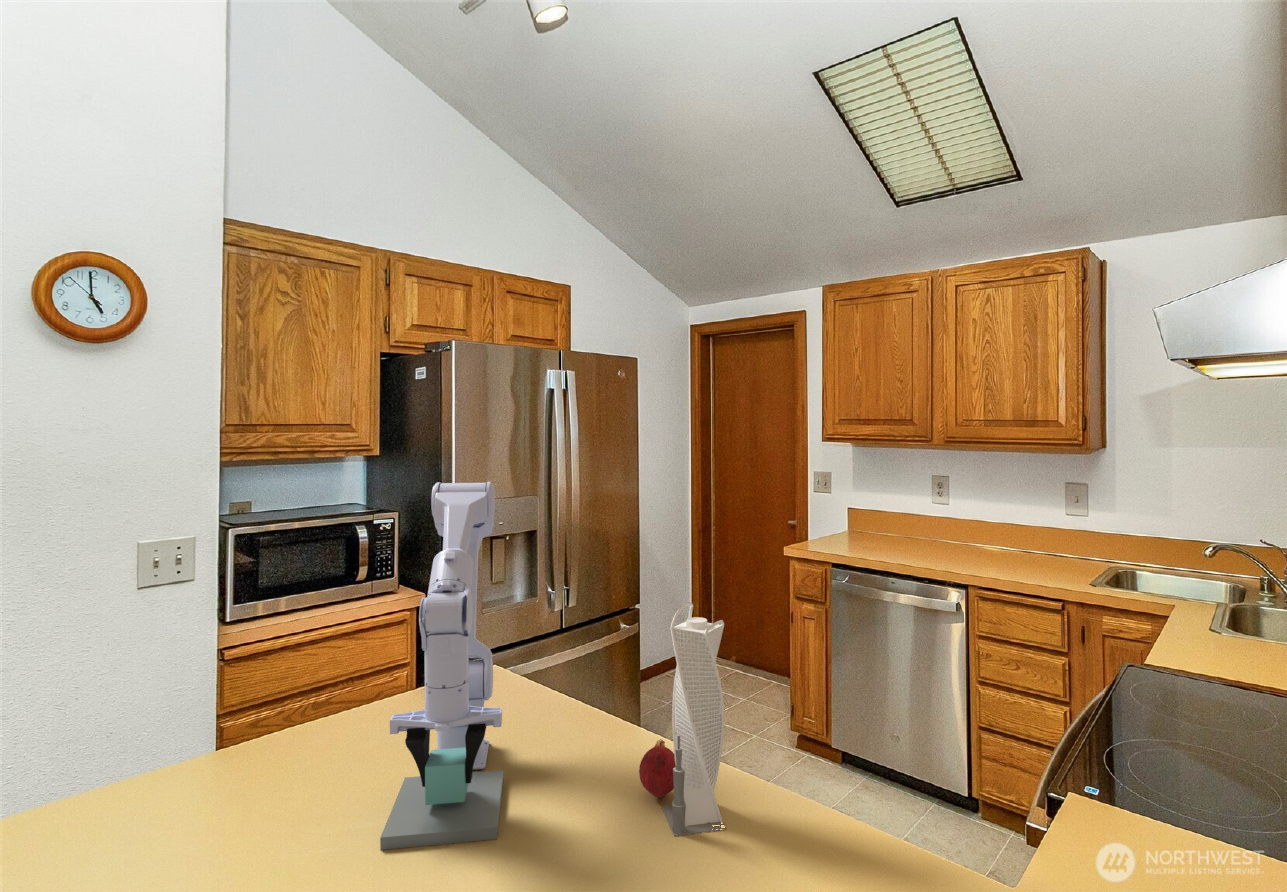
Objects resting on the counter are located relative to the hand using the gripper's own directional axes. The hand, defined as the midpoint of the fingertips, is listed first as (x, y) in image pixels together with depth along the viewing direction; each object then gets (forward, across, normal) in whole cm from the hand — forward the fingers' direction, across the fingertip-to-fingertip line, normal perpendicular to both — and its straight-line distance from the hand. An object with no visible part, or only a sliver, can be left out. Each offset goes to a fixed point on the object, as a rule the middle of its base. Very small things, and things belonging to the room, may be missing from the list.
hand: (447, 781), depth 91 cm
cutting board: (+4, 0, 0) cm, 4 cm away
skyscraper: (+5, +33, -6) cm, 34 cm away
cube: (+2, 0, 0) cm, 2 cm away
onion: (+4, +29, -1) cm, 29 cm away
